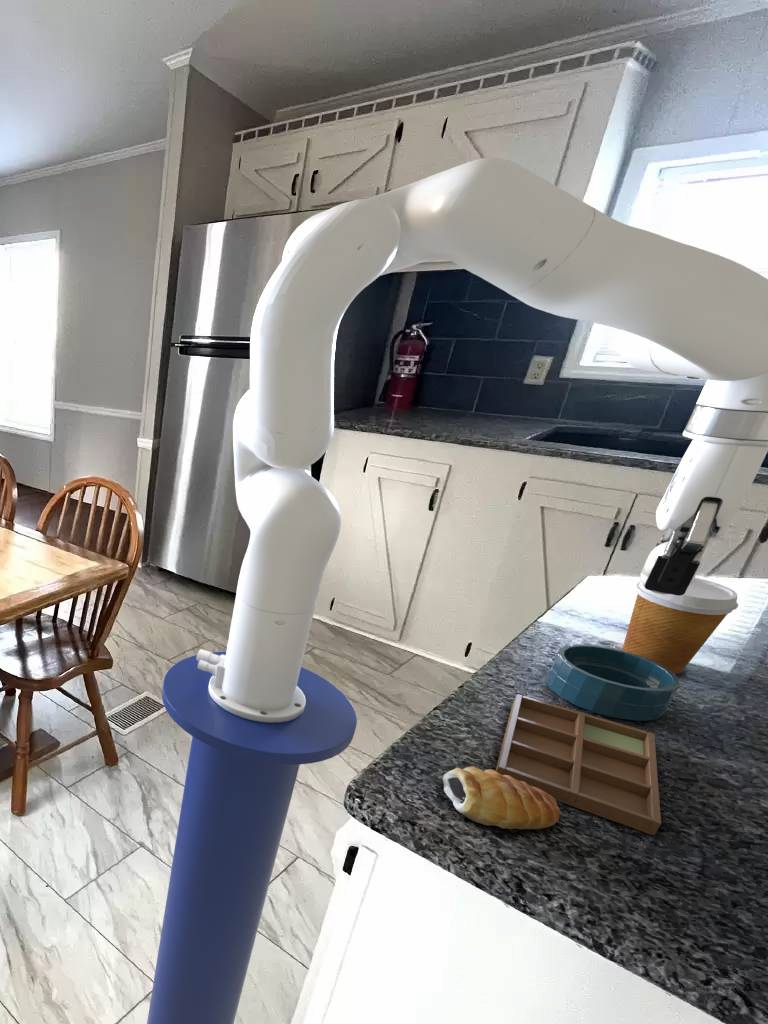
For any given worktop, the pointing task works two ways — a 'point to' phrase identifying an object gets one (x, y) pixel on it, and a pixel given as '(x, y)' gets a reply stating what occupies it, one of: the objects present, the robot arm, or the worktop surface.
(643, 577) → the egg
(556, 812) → the pastry
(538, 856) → the worktop surface
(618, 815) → the compartment tray
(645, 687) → the bowl
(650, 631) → the disposable coffee cup
